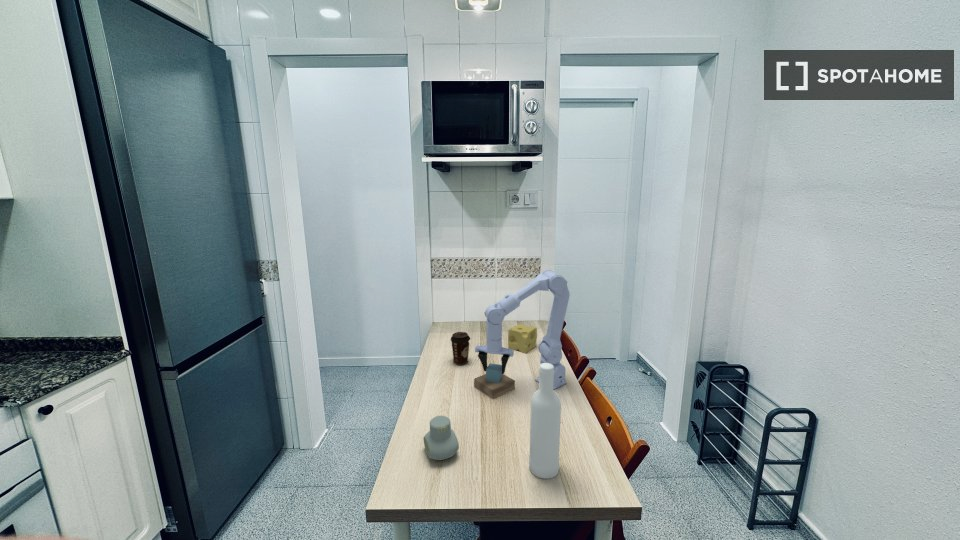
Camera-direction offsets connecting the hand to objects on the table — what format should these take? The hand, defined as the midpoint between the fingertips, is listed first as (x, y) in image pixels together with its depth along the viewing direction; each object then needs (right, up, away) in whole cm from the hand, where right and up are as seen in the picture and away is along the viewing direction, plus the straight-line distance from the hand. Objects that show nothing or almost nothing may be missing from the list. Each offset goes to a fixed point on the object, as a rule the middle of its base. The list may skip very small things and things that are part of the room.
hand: (494, 371), depth 137 cm
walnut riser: (0, -7, +1) cm, 7 cm away
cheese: (+15, +1, +38) cm, 41 cm away
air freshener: (-17, -14, -33) cm, 40 cm away
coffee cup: (-14, -3, +23) cm, 27 cm away
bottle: (+12, -15, -40) cm, 44 cm away
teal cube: (0, -3, +1) cm, 3 cm away
